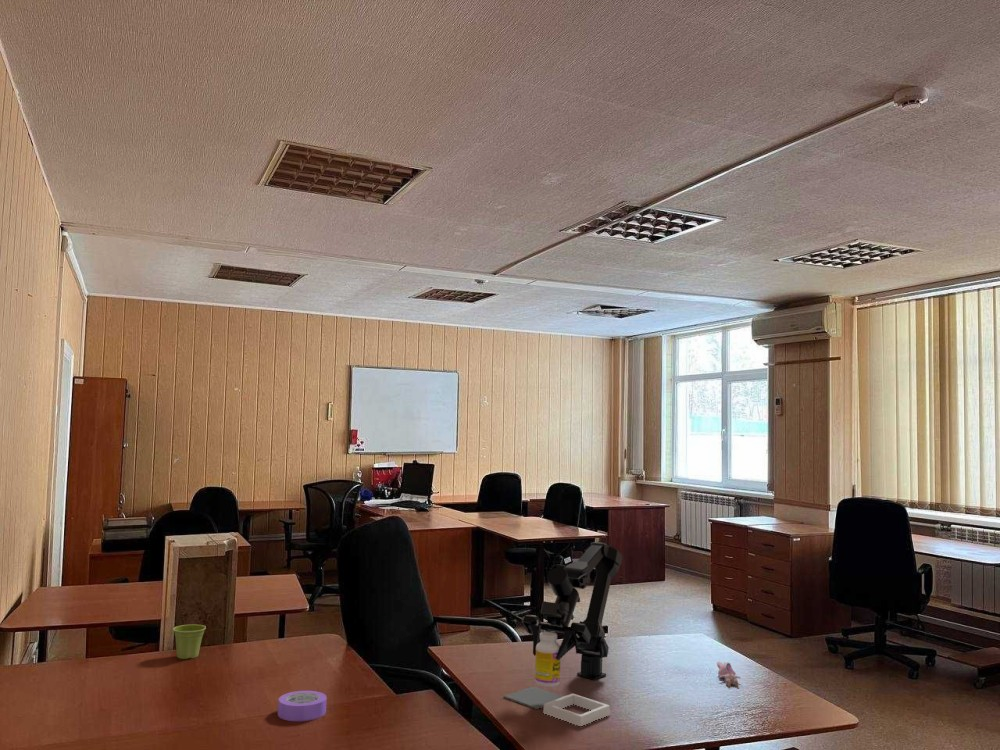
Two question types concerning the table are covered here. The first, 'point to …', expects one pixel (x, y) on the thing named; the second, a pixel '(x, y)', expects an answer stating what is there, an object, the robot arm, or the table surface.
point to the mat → (533, 697)
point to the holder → (596, 713)
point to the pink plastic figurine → (727, 673)
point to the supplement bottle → (547, 660)
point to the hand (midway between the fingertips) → (545, 657)
